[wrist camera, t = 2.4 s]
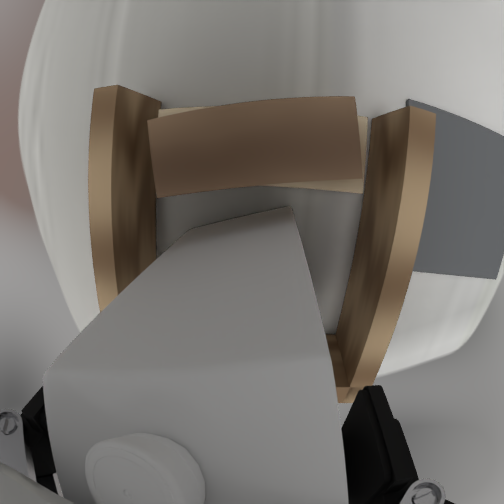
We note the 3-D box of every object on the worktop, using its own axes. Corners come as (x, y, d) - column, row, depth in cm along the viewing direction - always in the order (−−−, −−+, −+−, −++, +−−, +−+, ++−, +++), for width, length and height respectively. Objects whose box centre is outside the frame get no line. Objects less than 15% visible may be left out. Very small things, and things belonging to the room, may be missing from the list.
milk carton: (310, 300, 21) (348, 593, 3) (217, 317, 22) (129, 574, 4) (291, 205, 19) (365, 597, 1) (188, 228, 20) (-39, 468, 2)
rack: (141, 103, 17) (94, 88, 11) (392, 123, 16) (436, 113, 11) (144, 326, 23) (113, 370, 17) (348, 350, 22) (364, 402, 16)
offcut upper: (166, 125, 15) (147, 120, 13) (341, 106, 14) (354, 96, 12) (175, 191, 16) (156, 198, 14) (348, 175, 15) (362, 178, 13)
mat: (406, 99, 16) (408, 98, 15) (517, 144, 15) (520, 144, 15) (384, 266, 19) (385, 268, 19) (493, 277, 19) (496, 279, 18)
